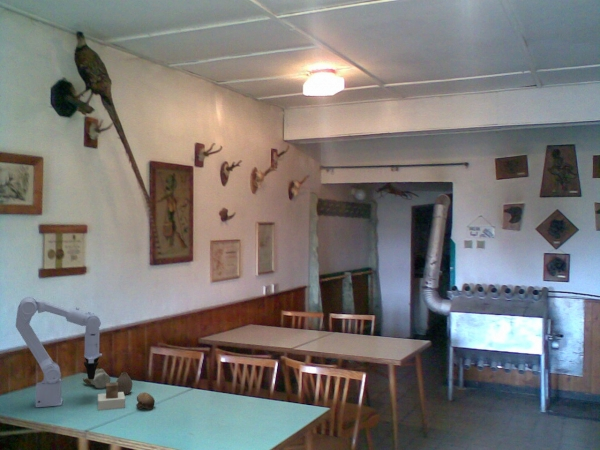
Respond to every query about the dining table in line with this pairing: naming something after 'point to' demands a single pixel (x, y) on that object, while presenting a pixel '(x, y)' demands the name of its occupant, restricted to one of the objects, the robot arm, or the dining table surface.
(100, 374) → the ceramic sculpture
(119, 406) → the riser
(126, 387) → the vase
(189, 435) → the dining table surface
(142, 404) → the mushroom
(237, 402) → the dining table surface
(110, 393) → the walnut block
